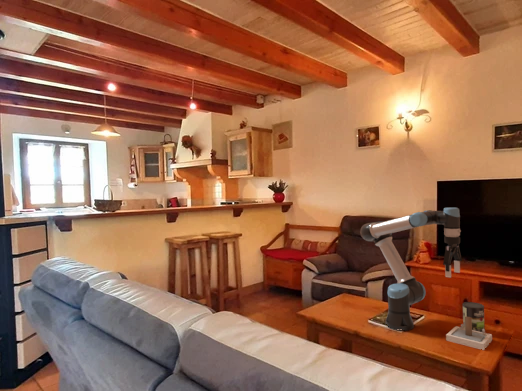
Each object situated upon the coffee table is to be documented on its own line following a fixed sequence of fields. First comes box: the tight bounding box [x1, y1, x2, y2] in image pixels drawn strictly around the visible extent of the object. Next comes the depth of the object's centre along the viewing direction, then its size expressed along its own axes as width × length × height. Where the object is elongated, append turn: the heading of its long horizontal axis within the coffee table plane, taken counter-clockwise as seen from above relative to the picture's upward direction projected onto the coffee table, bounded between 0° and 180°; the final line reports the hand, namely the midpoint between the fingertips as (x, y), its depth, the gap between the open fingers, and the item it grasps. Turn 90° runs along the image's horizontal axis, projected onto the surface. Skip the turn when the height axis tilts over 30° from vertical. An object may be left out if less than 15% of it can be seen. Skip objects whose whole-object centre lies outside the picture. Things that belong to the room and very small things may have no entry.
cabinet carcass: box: [445, 323, 493, 351], centre depth 180 cm, size 17×15×5 cm
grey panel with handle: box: [453, 317, 485, 342], centre depth 180 cm, size 12×10×11 cm
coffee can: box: [462, 301, 486, 332], centre depth 193 cm, size 10×10×14 cm
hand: (452, 274), depth 190 cm, fingers open, 13 cm apart
